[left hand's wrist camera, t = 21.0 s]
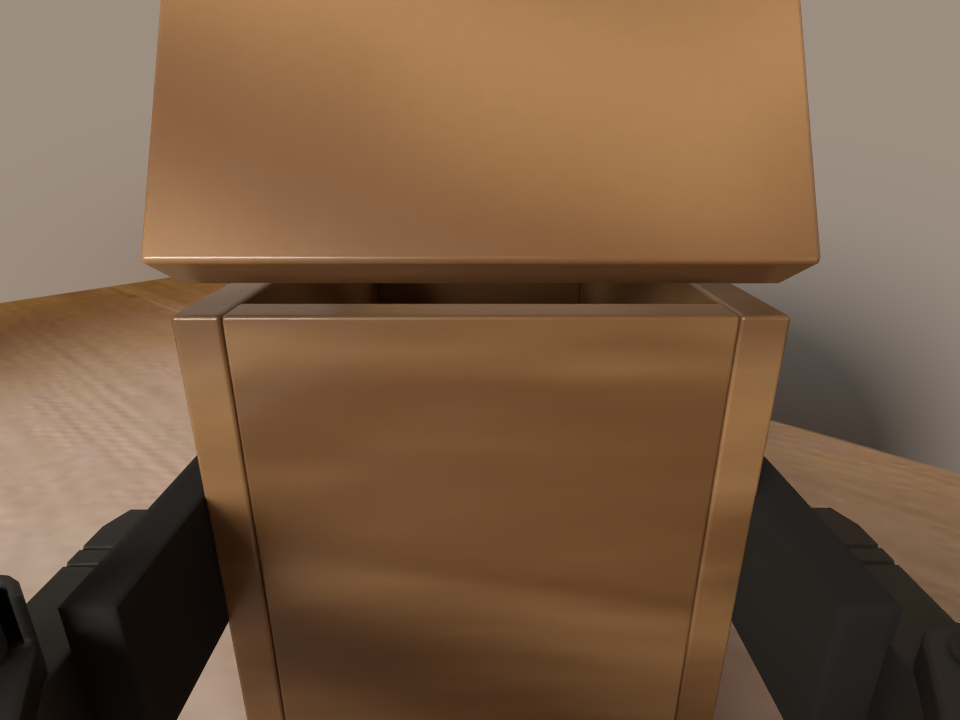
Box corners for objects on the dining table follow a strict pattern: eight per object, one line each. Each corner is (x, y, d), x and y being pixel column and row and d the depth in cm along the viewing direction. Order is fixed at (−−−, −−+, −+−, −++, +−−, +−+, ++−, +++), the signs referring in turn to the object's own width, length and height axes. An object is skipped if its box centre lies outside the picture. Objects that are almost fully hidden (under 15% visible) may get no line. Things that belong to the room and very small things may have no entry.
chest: (373, 453, 26) (356, 210, 22) (583, 452, 26) (601, 210, 22) (259, 792, 12) (169, 315, 9) (699, 791, 12) (792, 315, 9)
